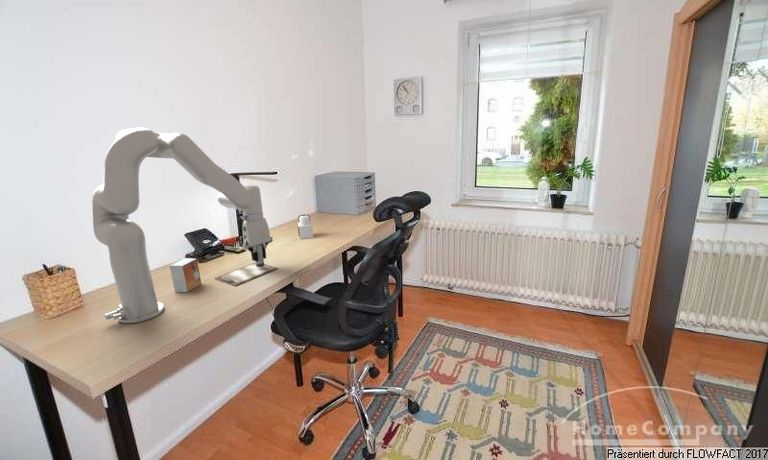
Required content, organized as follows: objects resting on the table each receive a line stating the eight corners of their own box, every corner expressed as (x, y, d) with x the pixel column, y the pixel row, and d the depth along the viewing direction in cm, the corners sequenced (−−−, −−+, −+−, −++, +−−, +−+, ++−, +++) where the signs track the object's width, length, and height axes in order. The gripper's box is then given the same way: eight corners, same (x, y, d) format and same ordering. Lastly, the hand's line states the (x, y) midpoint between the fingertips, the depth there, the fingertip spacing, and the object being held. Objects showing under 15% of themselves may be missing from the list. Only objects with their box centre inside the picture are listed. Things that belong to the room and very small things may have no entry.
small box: (187, 292, 134) (182, 266, 131) (174, 292, 135) (168, 265, 132) (202, 283, 141) (197, 258, 138) (189, 283, 142) (184, 257, 139)
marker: (259, 267, 151) (255, 237, 147) (254, 266, 152) (250, 236, 149) (266, 265, 153) (262, 235, 150) (261, 263, 155) (257, 234, 152)
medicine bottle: (298, 235, 199) (296, 214, 196) (311, 234, 201) (309, 213, 198) (299, 239, 193) (297, 217, 190) (313, 237, 195) (311, 216, 192)
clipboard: (235, 286, 137) (235, 283, 137) (214, 278, 145) (214, 276, 145) (277, 268, 153) (277, 266, 153) (257, 262, 161) (256, 260, 161)
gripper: (241, 222, 139) (248, 267, 144) (275, 213, 151) (280, 255, 156) (229, 220, 143) (236, 264, 148) (264, 211, 156) (269, 252, 161)
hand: (259, 259), depth 152 cm, fingers closed on marker, 3 cm apart
